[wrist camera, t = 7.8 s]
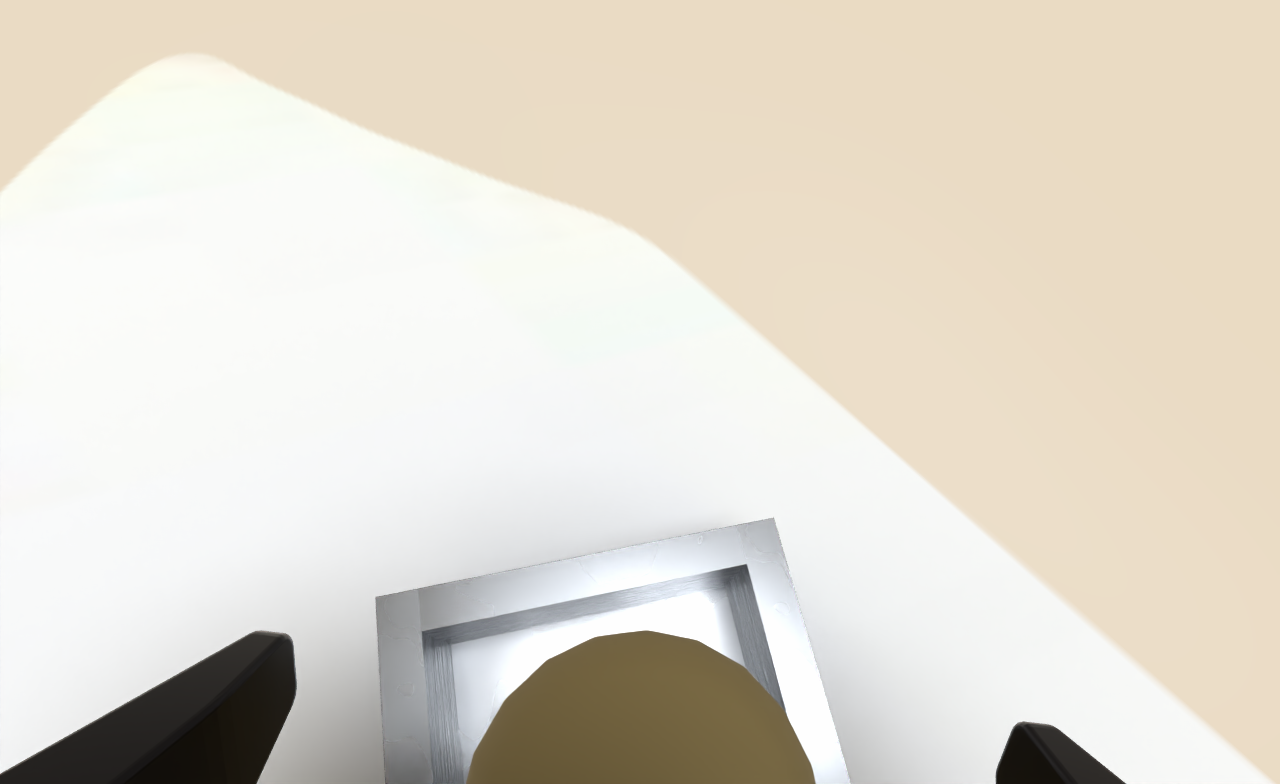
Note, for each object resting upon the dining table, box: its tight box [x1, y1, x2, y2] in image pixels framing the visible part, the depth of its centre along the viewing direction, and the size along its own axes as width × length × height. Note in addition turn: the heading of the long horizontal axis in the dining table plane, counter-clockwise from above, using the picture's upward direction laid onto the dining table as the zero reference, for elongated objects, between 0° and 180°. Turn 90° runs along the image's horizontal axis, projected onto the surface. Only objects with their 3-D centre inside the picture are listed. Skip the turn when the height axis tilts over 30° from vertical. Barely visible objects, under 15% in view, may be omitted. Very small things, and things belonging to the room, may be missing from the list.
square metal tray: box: [376, 518, 851, 784], centre depth 17 cm, size 10×10×4 cm
